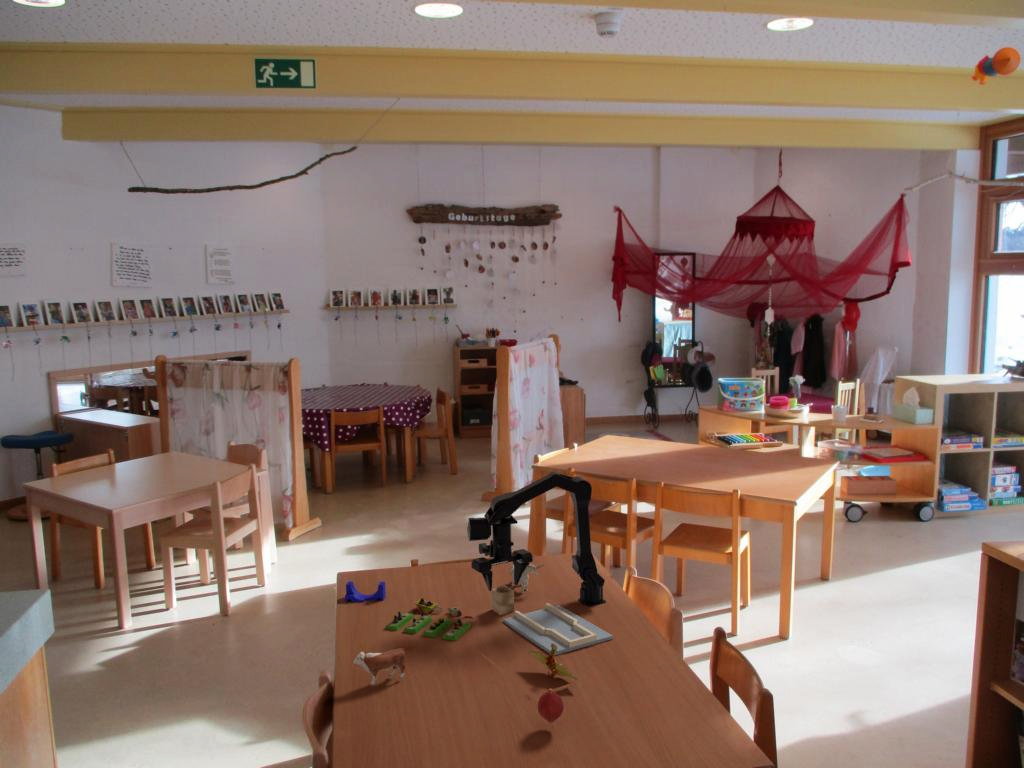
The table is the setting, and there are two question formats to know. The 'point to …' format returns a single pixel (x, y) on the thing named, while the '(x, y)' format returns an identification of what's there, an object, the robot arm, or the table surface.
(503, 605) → the stud block
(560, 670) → the origami crane
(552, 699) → the onion
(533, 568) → the unicorn figurine
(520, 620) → the keyhole board
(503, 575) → the table surface
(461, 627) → the toy garden set
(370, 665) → the bull figurine
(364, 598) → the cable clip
